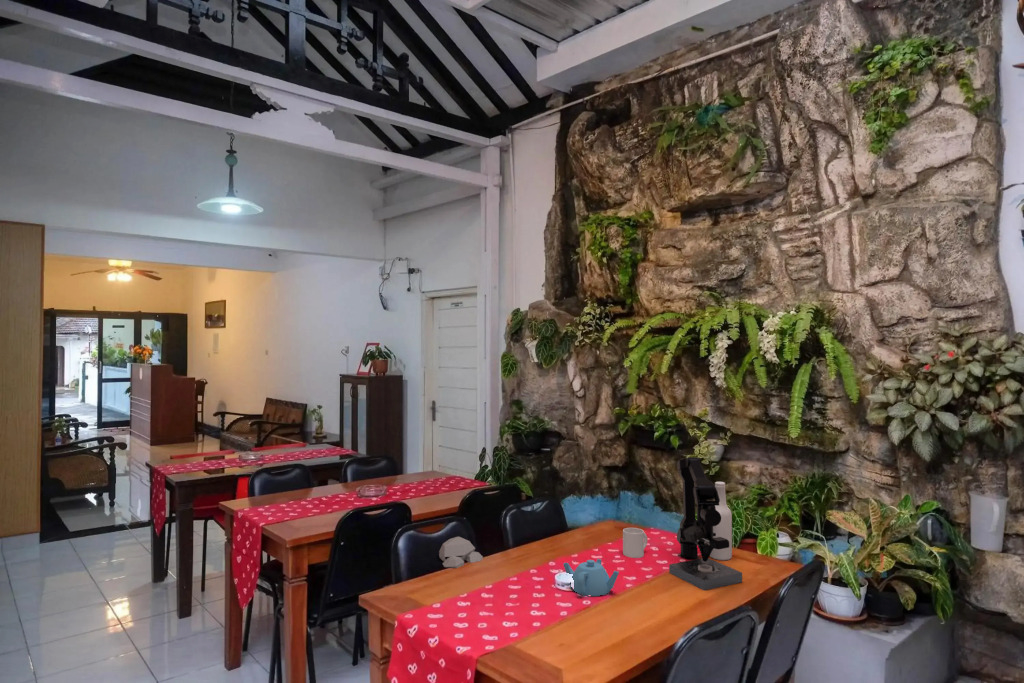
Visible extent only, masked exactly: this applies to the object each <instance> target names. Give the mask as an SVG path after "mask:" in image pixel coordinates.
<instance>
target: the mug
mask: <svg viewBox="0 0 1024 683" xmlns="http://www.w3.org/2000/svg"><path fill="white" fill-rule="evenodd" d="M647 544H648V535H647V534H646V532H645V531H644V530H643V529H641V528H637V527H626V528H623V530H622V555H623V556H625V557H627V558H631V559H640V558H643V557H644V554H645V548H646V547H647Z"/></svg>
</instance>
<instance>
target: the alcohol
mask: <svg viewBox="0 0 1024 683" xmlns="http://www.w3.org/2000/svg"><path fill="white" fill-rule="evenodd" d="M714 487H715V488H716V490H717V492H718V496H719V499H720V501H719V505H715V507H716V510H717V511H718V512H719V513H720V515H721V522H720V523H719V524H718V525H716V526H713V532H714V533H716V536H713V538H717V537H722V538H725V539H727V540H728V541H729V548H724V549H713V550H712V552H711V554H710V556H709V558H710V559H711V558H712V560H713V559H714V560H715V561H716V560H717V561H729V560H731V558H732V557H733V541H732V540H733V525H732V524H733V518H732V516H733V514H732V510H731V509H730V508H729V507H728V505H727V497H726V495H727V494H726V482H724V481H716V482H714ZM714 501H715V499H714Z"/></svg>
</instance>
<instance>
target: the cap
mask: <svg viewBox="0 0 1024 683" xmlns="http://www.w3.org/2000/svg"><path fill="white" fill-rule="evenodd" d="M698 570H699V571H704V572H712V567H711V566H708V565H699V566H698Z"/></svg>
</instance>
